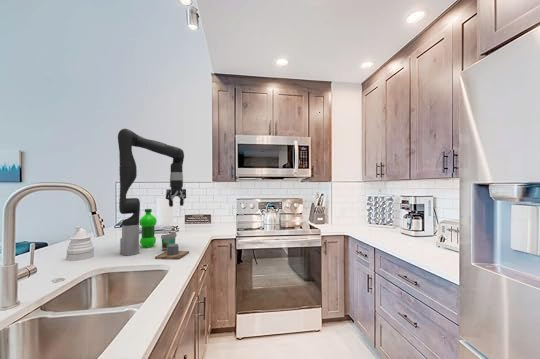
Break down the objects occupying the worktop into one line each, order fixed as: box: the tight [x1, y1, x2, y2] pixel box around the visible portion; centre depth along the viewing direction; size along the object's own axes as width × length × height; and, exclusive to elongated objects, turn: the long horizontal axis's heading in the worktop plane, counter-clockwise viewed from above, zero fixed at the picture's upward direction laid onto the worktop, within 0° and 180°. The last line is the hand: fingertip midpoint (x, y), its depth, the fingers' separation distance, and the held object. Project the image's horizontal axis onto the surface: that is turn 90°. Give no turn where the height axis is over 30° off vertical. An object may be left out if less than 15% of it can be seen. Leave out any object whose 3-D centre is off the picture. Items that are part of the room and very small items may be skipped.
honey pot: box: [65, 225, 95, 262], centre depth 153 cm, size 13×13×18 cm
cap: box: [167, 243, 180, 255], centre depth 156 cm, size 6×6×5 cm
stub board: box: [154, 250, 190, 261], centre depth 156 cm, size 14×14×5 cm
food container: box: [160, 231, 178, 252], centre depth 173 cm, size 12×6×10 cm, turn 168°
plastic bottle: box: [139, 208, 158, 248], centre depth 181 cm, size 10×10×25 cm
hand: (176, 206), depth 166 cm, fingers open, 8 cm apart
